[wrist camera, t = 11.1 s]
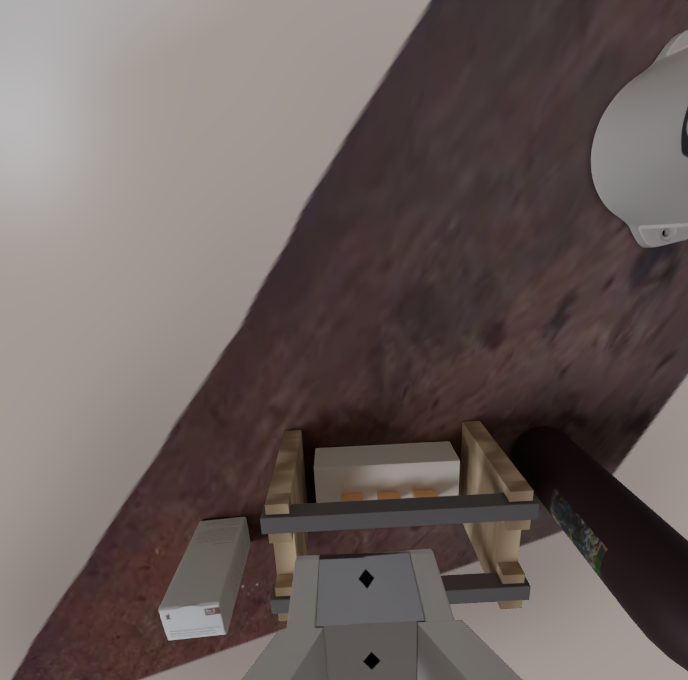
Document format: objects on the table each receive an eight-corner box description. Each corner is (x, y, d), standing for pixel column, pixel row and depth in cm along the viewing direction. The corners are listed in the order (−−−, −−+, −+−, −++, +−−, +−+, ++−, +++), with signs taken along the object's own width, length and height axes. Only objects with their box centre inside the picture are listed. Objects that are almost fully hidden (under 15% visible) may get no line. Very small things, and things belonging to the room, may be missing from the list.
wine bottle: (503, 436, 45) (805, 799, 16) (561, 416, 44) (982, 755, 15) (518, 483, 47) (813, 886, 18) (573, 464, 46) (972, 848, 17)
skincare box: (206, 546, 48) (165, 645, 37) (199, 517, 47) (154, 610, 35) (253, 541, 48) (227, 639, 37) (248, 512, 47) (218, 604, 35)
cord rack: (479, 420, 44) (533, 490, 32) (474, 513, 48) (521, 607, 36) (284, 430, 44) (264, 505, 32) (293, 523, 48) (278, 621, 35)
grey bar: (522, 571, 36) (530, 586, 35) (520, 584, 37) (528, 599, 35) (273, 584, 36) (270, 600, 35) (274, 597, 36) (272, 613, 35)
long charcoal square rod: (530, 491, 34) (539, 503, 32) (528, 506, 34) (537, 519, 33) (263, 505, 34) (259, 518, 32) (265, 520, 34) (261, 534, 33)
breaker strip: (449, 441, 45) (459, 460, 41) (447, 498, 47) (457, 521, 43) (315, 448, 45) (313, 468, 41) (319, 504, 47) (318, 528, 43)
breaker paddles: (433, 489, 42) (441, 501, 39) (434, 498, 42) (441, 510, 39) (340, 494, 42) (340, 506, 39) (341, 503, 42) (341, 516, 39)
